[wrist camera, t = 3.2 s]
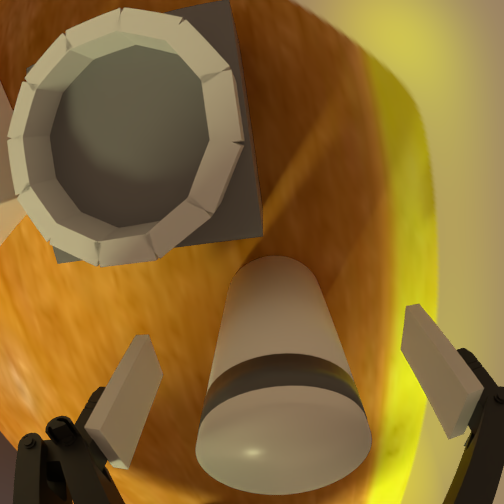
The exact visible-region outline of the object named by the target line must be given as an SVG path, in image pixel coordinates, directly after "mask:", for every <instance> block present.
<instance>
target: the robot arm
mask: <svg viewBox="0 0 504 504" xmlns="http://www.w3.org/2000/svg"><path fill="white" fill-rule="evenodd" d="M401 351H402V352H403V354H404V356H405V358H406V360H407V361H408V363H409V365H410V367H411V368H412V370H413V372H414V374H415V376H416V377H417V379H418V381H419V383H420V385H421V387H422V389H423V390H424V392H425V394H426V396H427V398H428V400H429V402H430V404H431V406H432V407H433V409H434V411H435V413H436V415H437V417H438V419H439V421H440V423H441V425H442V427H443V429H444V431H445V433H446V435H447V437H448V439H451V438H454V437H457V436H459V435H462V434H463V433H464V432H465V430H466V428H467V426H469V427H470V429H471V433H470V435H469V437H468V439H467V441H466V443H465V445H464V446H466V447H465V450H464V453H463V455H462V458H461V461H460V464H459V466H458V469H457V472H456V474H455V476H454V479H453V481H452V484H451V486H450V488H449V491H448V493H447V495H446V498H445V500H444V502H443V504H492V503H493V500H494V497H495V494H496V490H497V487H498V484H499V481H500V477H501V473H502V470H503V466H504V387H498V386H497V384H496V383H495V382H494V380H493V379H492V378H491V376H490V375H489V374H488V372H487V371H486V370H485V369H484V367H482V365H481V363H480V362H478V360H477V358H476V357H475V356H474V355H473V354H472V353H471V352H470V351H468V350H467V349H465V348H461V349H458V350H456V349H455V348H454V347H453V345H452V344H451V343H450V341H449V340H448V339H447V338H446V336H445V335H444V334H443V332H442V331H441V330H440V329H439V327H438V326H437V325H436V324H435V323H434V321H433V320H432V319H431V318H430V316H429V315H428V314H427V313H426V312H425V310H424V309H423V308H422V307H421V306H420V304H415V305H410V306H406V311H405V320H404V329H403V337H402V344H401ZM162 377H163V373H162V370H161V367H160V365H159V362H158V359H157V356H156V354H155V351H154V348H153V345H152V342H151V339H150V337H149V335H136V336H135V338H134V339H133V341H132V343H131V344H130V346H129V348H128V349H127V351H126V353H125V355H124V356H123V358H122V360H121V362H120V363H119V365H118V367H117V368H116V370H115V372H114V374H113V376H112V377H111V379H110V381H109V383H108V384H107V386H106V387H99V388H98V389H97V390H96V391H95V392H93V393H92V395H91V397H90V398H89V400H88V403H87V404H86V405H85V409H83V411H82V412H81V414H80V416H79V418H78V420H77V421H76V423H75V425H74V424H73V422H72V421H71V419H70V418H68V417H66V416H59V417H56V418H54V419H52V420H51V421H50V422H49V423H48V424H47V426H46V433H47V435H48V436H49V437H50V439H51V440H42V438H41V437H40V436H39V434H36V433H29V434H26V435H25V436H23V437H22V438H21V440H20V442H19V444H18V451H17V460H16V469H15V480H14V495H13V504H73V502H74V504H125V503H124V501H123V499H122V497H121V495H120V493H119V491H118V489H117V488H116V486H115V484H114V482H113V480H112V478H111V476H110V474H109V471H108V470H107V468H106V467H105V464H106V462H107V460H108V461H109V463H110V464H111V465H112V466H113V467H115V468H121V469H127V470H128V469H129V466H130V463H131V461H132V458H133V455H134V452H135V449H136V447H137V444H138V441H139V438H140V436H141V433H142V430H143V427H144V425H145V422H146V419H147V417H148V414H149V411H150V409H151V406H152V403H153V401H154V398H155V395H156V393H157V390H158V388H159V385H160V382H161V380H162ZM72 500H73V502H72Z"/></svg>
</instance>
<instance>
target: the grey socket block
mask: <svg viewBox="0 0 504 504" xmlns="http://www.w3.org/2000/svg"><path fill="white" fill-rule="evenodd" d="M25 79H26V81H27V82H22V85H21V88H20V91H19V94H18V98H17V101H16V105H15V108H14V112H13V115H12V119H11V123H10V127H9V131H8V136H7V137H9V138H11V139H9V140H7V145H8V153H9V160H10V167H11V173H12V179H13V185H14V190H15V195H17V194H19V196H18V198H17V200H18V201H19V203H20V204H21V206H22V207H23V209H24V210H25V212H26V213H27V215H28V216H29V217H30V219H31V220H32V222H33V223H34V225H35V226H36V227H37V229H38V230H39V232H40V233H41V234H42V236H43V237H44V238H45V240H46V241H47V242H48V241H49V240H50V245H52V246H53V249H54V253H55V256H56V260H57V263H58V264H59V263H66V262H73V261H80V260H84V261H86V262H88V263H90V264H92V265H94V266H98V265H99V264H100V267H106V266H115V265H123V264H131V263H139V262H147V261H155V260H157V259H158V258H162V257H163V256H164V255H165V254H166V253H168V252H169V251H170V250H171V249H172V248H175V247H183V246H191V245H198V244H206V243H214V242H222V241H230V240H238V239H246V238H254V237H262V236H263V207H262V200H261V192H260V185H259V177H258V170H257V163H256V156H255V148H254V141H253V134H252V127H251V120H250V113H249V106H248V99H247V93H246V86H245V79H244V72H243V66H242V59H241V53H240V46H239V40H238V36H237V32H236V27H235V23H234V19H233V14H232V10H231V6H230V2H229V0H222V1H216V2H210V3H205V4H200V5H195V6H190V7H186V8H181V9H177V10H173V11H169V12H165V13H158V12H152V11H146V10H140V9H133V8H125V7H124V9H123V10H122V9H121V8H118V9H116V10H113V11H110V12H108V13H105V14H102V15H100V16H97V17H95V18H93V19H90V20H88V21H85V22H83V23H81V24H79V25H76V26H74V27H72V28H70V29H68V30H66V34H64V33H62V34H61V35H60V36H59V37H58V38H57V39H56V40H55V42H54V43H53V44H52V45H51V46H50V47H49V48H48V49H47V51H46V52H45V53H44V54H43V55H42V57H41V58H40V59H39V60H38V61H37V63H35V64H34V65H32V66H30V67H28V68H27V75H26V77H25Z"/></svg>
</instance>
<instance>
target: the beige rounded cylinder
mask: <svg viewBox="0 0 504 504" xmlns="http://www.w3.org/2000/svg"><path fill="white" fill-rule="evenodd" d="M371 444H372V436H371V431H370V428H369V425H368V422H367V417H366V414H365V411H364V408H363V405H362V402H361V399H360V396H359V393H358V390H357V387H356V385H355V382H354V380H353V377H352V374H351V371H350V368H349V365H348V362H347V359H346V357H345V354H344V351H343V348H342V345H341V343H340V340H339V337H338V334H337V332H336V329H335V326H334V323H333V321H332V318H331V315H330V313H329V310H328V307H327V305H326V302H325V299H324V297H323V294H322V291H321V289H320V286H319V284H318V281H317V279H316V277H315V276H314V274H313V273H312V272H311V271H310V269H309V268H307V267H306V266H305V265H304V264H302V263H301V262H299V261H297V260H295V259H292V258H289V257H285V256H266V257H261V258H258V259H255V260H253V261H251V262H249V263H248V264H246V265H245V266H243V267H242V268H241V269H240V270H239V271H238V272H237V273H236V274H235V276H234V277H233V279H232V281H231V283H230V286H229V289H228V293H227V298H226V303H225V307H224V312H223V317H222V321H221V326H220V331H219V335H218V340H217V345H216V350H215V354H214V359H213V364H212V369H211V374H210V378H209V383H208V388H207V393H206V396H205V400H204V405H203V410H202V415H201V420H200V425H199V430H198V438H197V443H196V449H195V451H196V457H197V460H198V462H199V464H200V465H201V467H202V468H203V469H204V470H205V472H206V473H208V474H209V475H210V476H211V477H213V478H214V479H216V480H217V481H219V482H221V483H223V484H225V485H227V486H229V487H232V488H235V489H238V490H241V491H246V492H250V493H256V494H266V495H286V494H296V493H302V492H307V491H311V490H315V489H319V488H322V487H324V486H327V485H330V484H332V483H334V482H336V481H338V480H340V479H342V478H344V477H345V476H347V475H348V474H350V473H351V472H352V471H354V470H355V469H356V468H357V467H358V466H359V465H360V464H361V463H362V462H363V461H364V459H365V458H366V457H367V455H368V453H369V451H370V448H371Z"/></svg>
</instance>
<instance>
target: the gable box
mask: <svg viewBox="0 0 504 504" xmlns="http://www.w3.org/2000/svg"><path fill="white" fill-rule="evenodd" d="M12 115H13V110H12V108H11V105H10V103H9V101H8V98H7V96H6V94H5V91H4V89H3V86H2V84H1V81H0V245H1V244H2V243H3V242H4V240H5V239H6V238H7V237H8V235H9V234H10V233H11V232H12V231H13V229H14V228H15V227H16V226H17V225H18V223H19V222H20V221H21V220H22V219H23V218H24V217H25V215H26V214H27V213H26V212H25V210H24V209H23V207H22V206H21V204H20V203H19V201H18V200H17V198H18V196H19V194H17V195H15V190H14V185H13V179H12V173H11V167H10V160H9V153H8V145H7V140H9V139H11V138H9V137H7V136H8V131H9V127H10V123H11V119H12Z"/></svg>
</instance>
